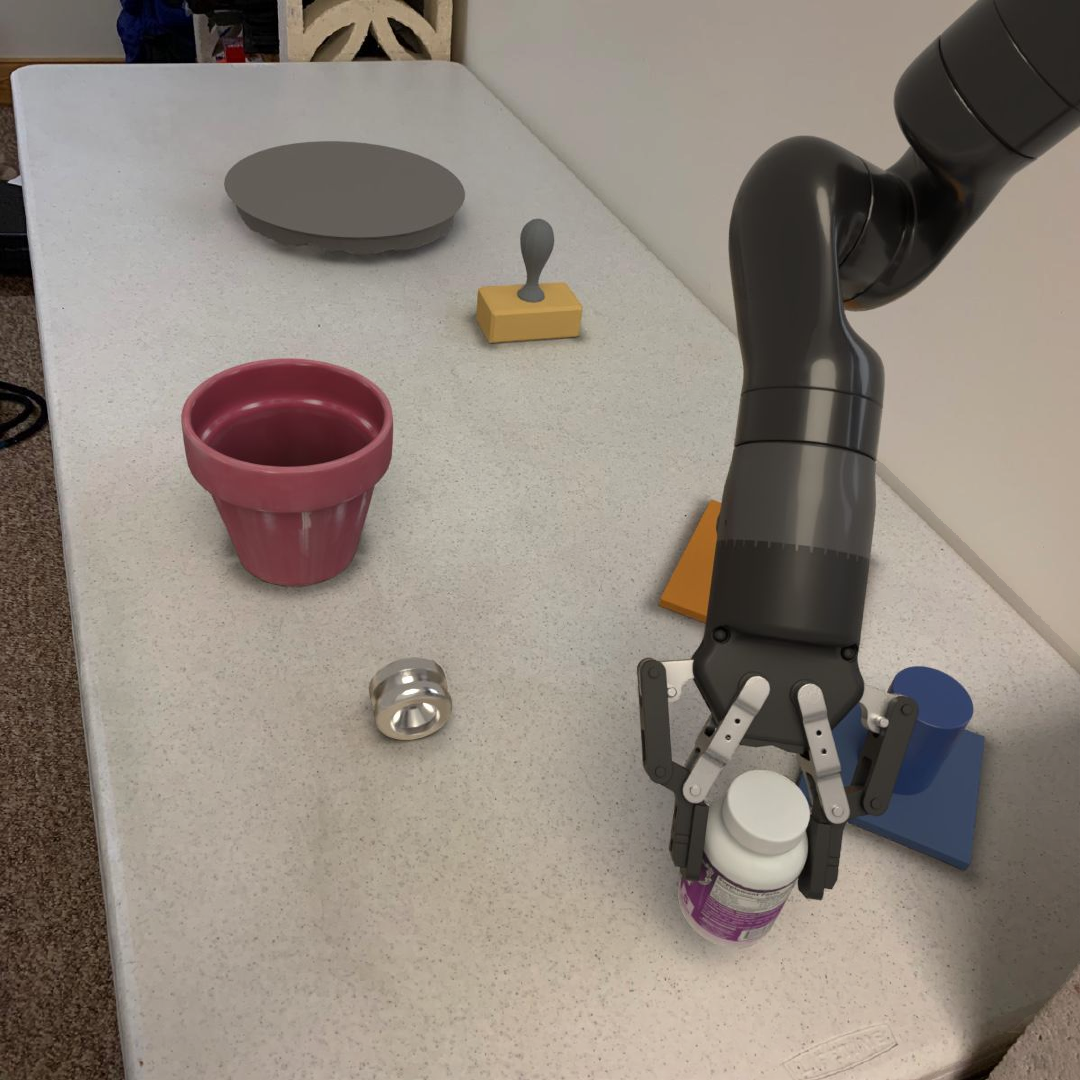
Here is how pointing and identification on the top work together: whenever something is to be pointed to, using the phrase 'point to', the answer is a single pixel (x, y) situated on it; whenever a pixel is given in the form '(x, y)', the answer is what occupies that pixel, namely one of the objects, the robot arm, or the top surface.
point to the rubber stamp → (530, 298)
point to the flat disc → (345, 196)
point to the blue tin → (929, 724)
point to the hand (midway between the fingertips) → (749, 884)
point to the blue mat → (921, 798)
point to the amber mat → (694, 570)
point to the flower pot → (289, 462)
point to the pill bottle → (748, 859)
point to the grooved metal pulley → (410, 698)
